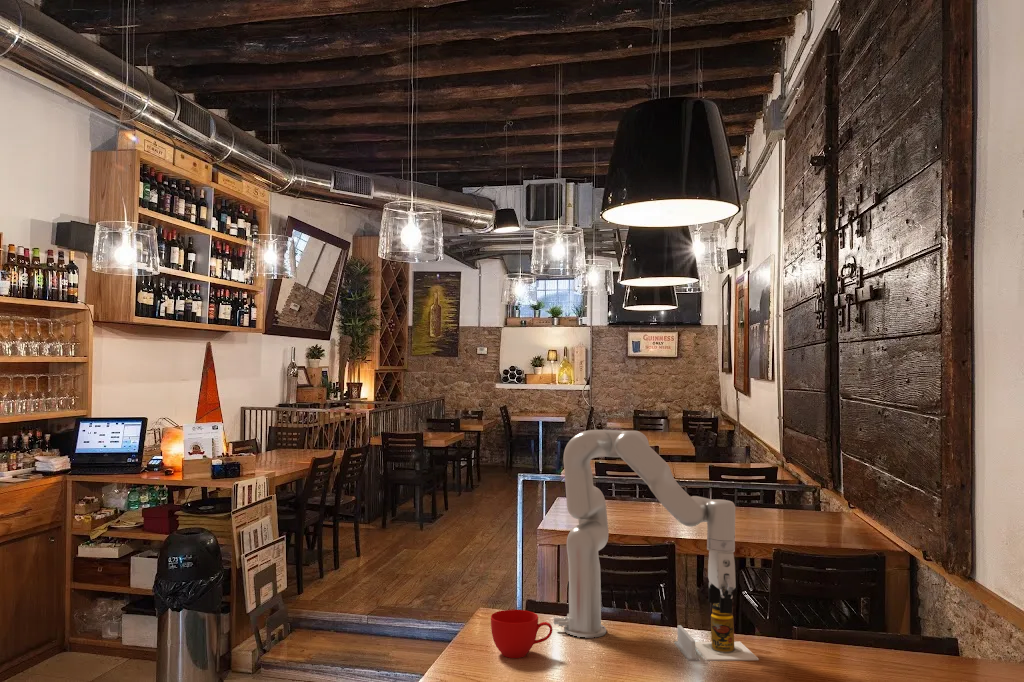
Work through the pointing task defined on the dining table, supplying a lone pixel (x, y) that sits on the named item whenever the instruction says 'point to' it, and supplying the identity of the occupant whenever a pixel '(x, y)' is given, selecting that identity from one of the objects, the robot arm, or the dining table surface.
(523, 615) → the ceramic cup
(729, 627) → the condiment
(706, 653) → the pad
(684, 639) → the low wall
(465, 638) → the dining table surface
